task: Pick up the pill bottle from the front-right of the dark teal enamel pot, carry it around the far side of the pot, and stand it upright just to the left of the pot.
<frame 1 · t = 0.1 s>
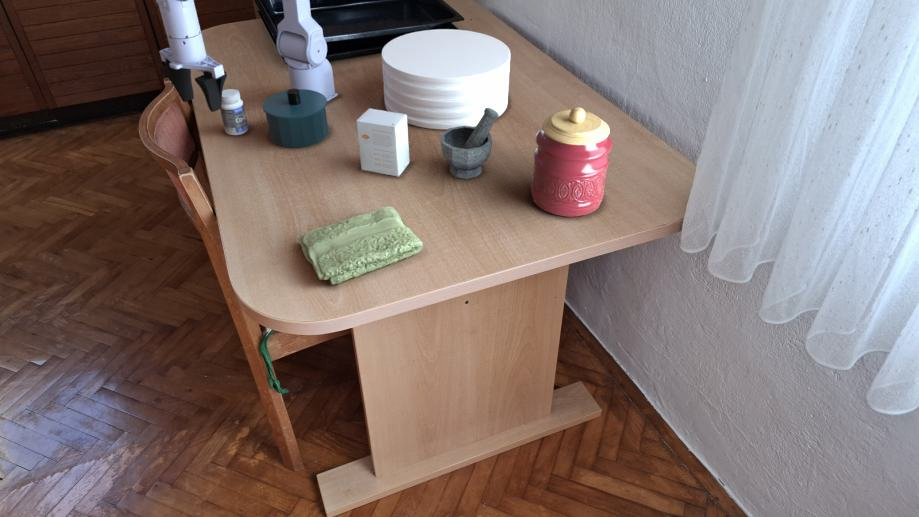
hand: (202, 104, 124), 10 cm above the table, tool pointing down, fingers open, 7 cm apart
pill bottle: (237, 131, 138), on the table
pot: (299, 133, 137), on the table
plate stack: (446, 101, 150), on the table
small box: (385, 167, 127), on the table
kitchen canister: (565, 198, 119), on the table
pot lid: (295, 104, 133), point 6 cm above the table, touching pot
mortar and pestle: (468, 170, 126), on the table
washcloth: (360, 251, 106), on the table
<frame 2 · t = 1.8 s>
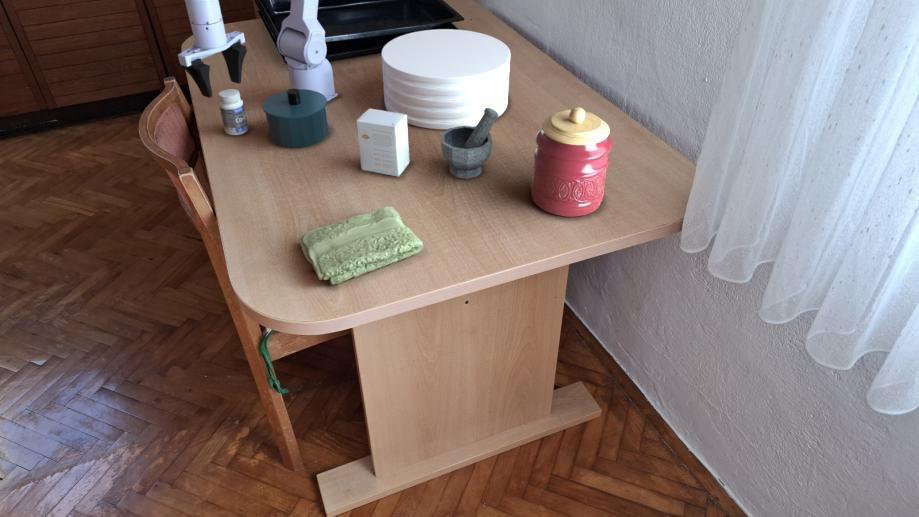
hand: (222, 89, 130), 10 cm above the table, tool pointing down, fingers open, 7 cm apart
nothing on the table moved.
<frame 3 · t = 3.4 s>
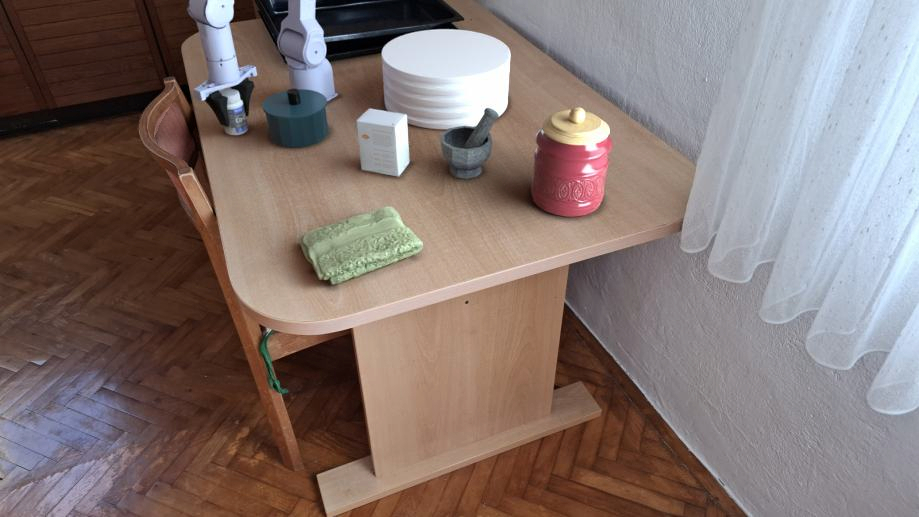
hand: (234, 119, 136), 2 cm above the table, tool pointing down, fingers closed on pill bottle, 5 cm apart
pill bottle: (237, 131, 138), on the table, touching gripper
everything else where it was.
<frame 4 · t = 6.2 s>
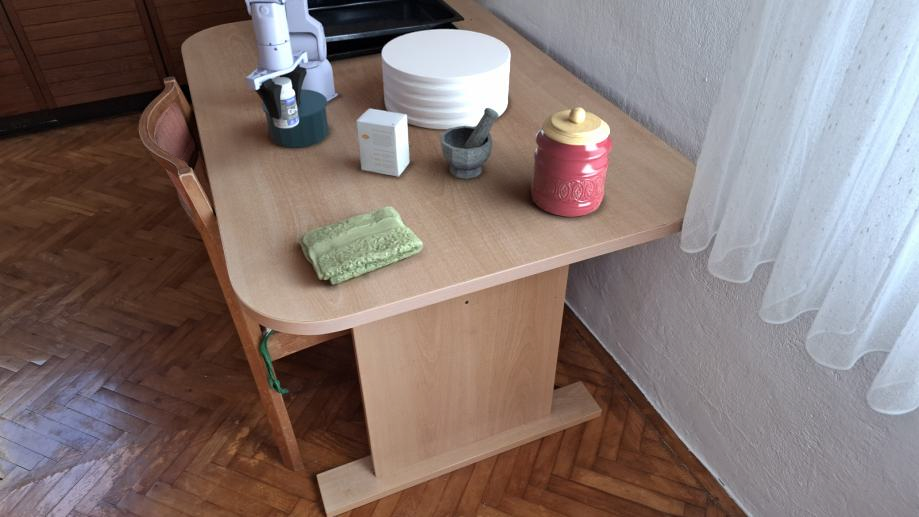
hand: (285, 111, 123), 10 cm above the table, tool pointing down, fingers closed on pill bottle, 5 cm apart
pill bottle: (286, 124, 124), point 7 cm above the table, touching gripper
everything else where it was.
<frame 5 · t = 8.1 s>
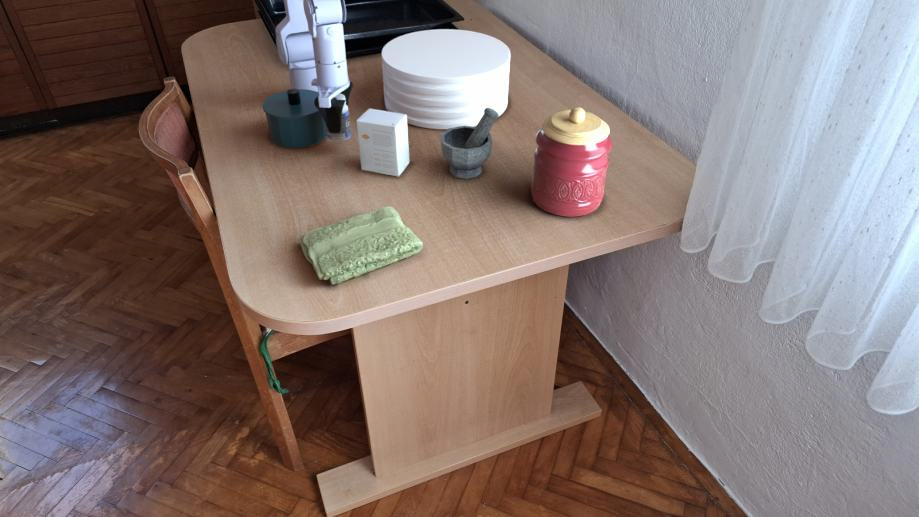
hand: (338, 125, 129), 5 cm above the table, tool pointing down, fingers closed on pill bottle, 5 cm apart
pill bottle: (339, 137, 131), point 2 cm above the table, touching gripper
everything else where it was.
when the fingers open (2 cm above the table, at t = 9.3 s): pill bottle stays where it is, on the table.
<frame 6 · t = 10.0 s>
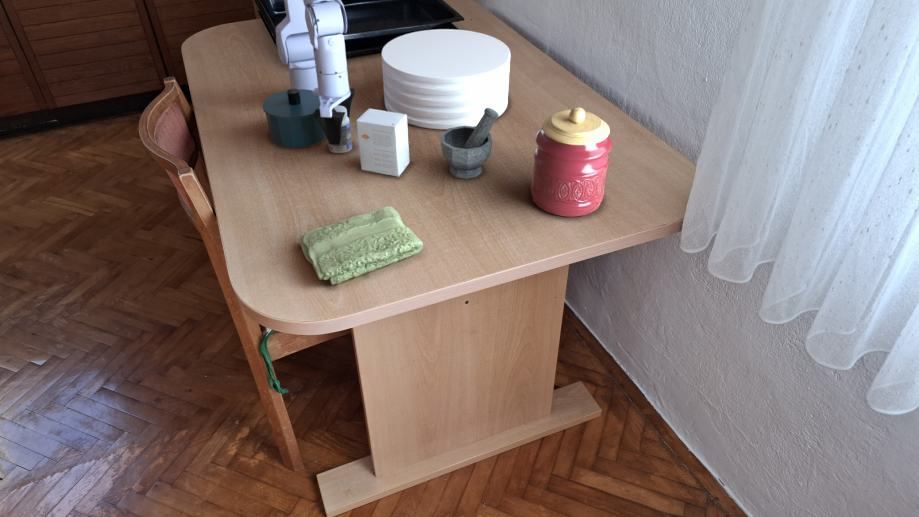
hand: (339, 134, 130), 3 cm above the table, tool pointing down, fingers open, 7 cm apart
pill bottle: (340, 149, 132), on the table
everything else where it was.
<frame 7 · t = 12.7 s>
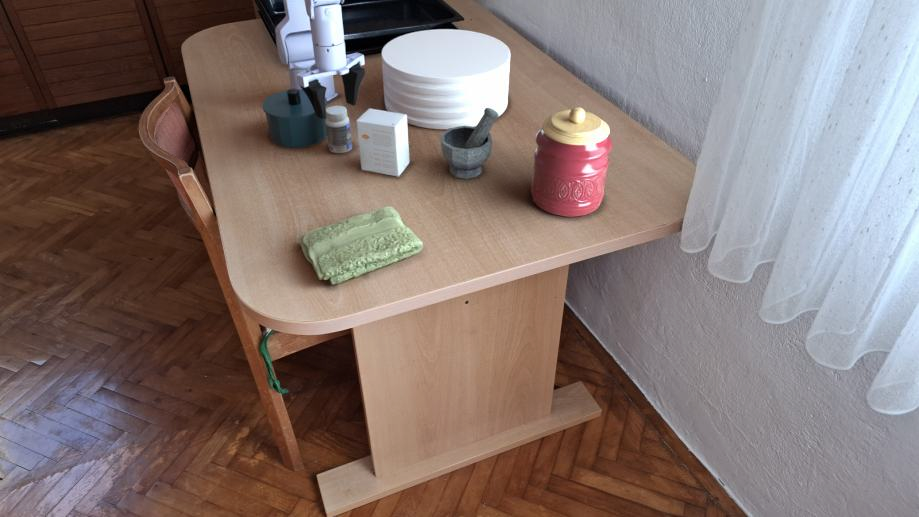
hand: (336, 110, 127), 8 cm above the table, tool pointing down, fingers open, 7 cm apart
nothing on the table moved.
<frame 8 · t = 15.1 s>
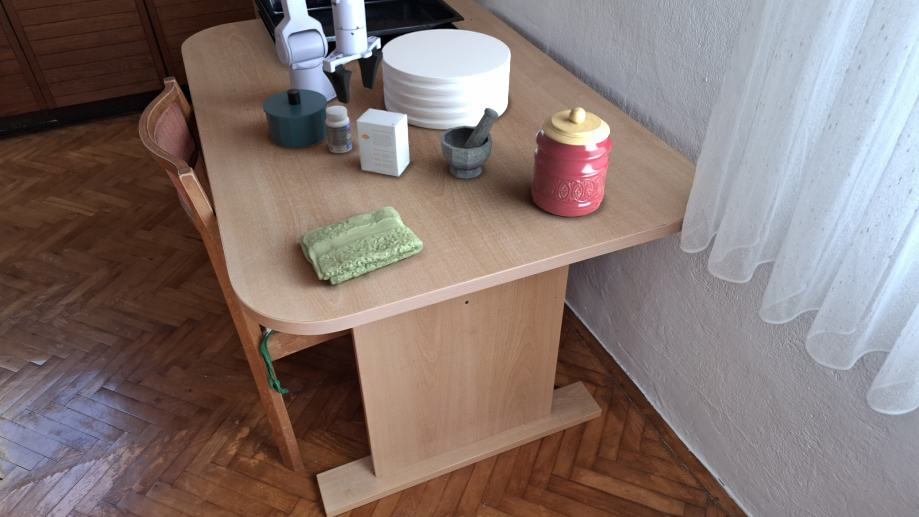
hand: (356, 94, 127), 10 cm above the table, tool pointing down, fingers open, 7 cm apart
nothing on the table moved.
at the end: pill bottle 0.5 cm from the target spot on the table beside the pot, on the table; pill bottle tilted 0°; the gripper is holding nothing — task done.
